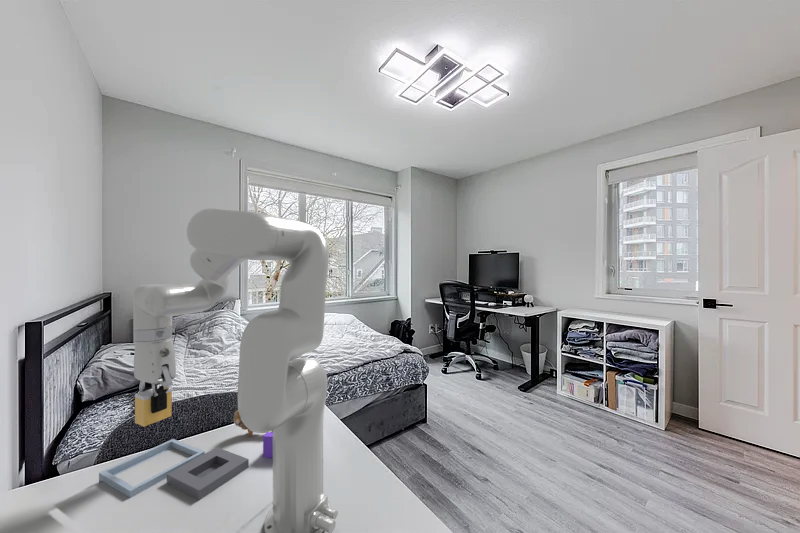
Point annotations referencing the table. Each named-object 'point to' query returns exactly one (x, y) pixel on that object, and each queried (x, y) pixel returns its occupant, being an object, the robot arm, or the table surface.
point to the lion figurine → (241, 423)
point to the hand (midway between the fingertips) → (153, 408)
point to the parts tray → (126, 488)
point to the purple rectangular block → (268, 445)
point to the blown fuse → (144, 408)
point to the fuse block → (207, 472)
